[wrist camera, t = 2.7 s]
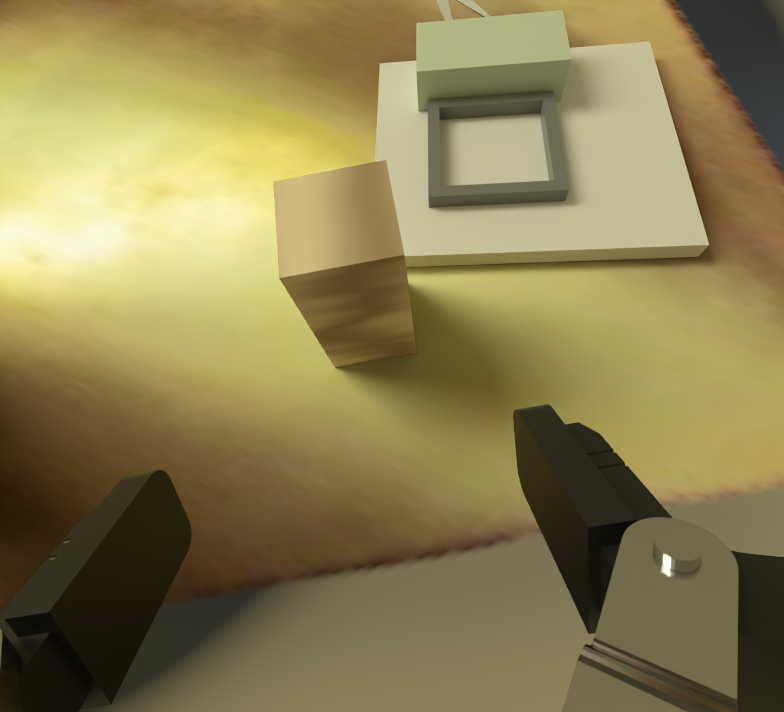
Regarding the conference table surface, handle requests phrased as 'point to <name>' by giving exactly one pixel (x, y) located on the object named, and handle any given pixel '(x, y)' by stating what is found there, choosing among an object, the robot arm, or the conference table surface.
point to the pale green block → (492, 56)
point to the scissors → (444, 3)
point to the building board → (540, 168)
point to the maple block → (346, 262)
